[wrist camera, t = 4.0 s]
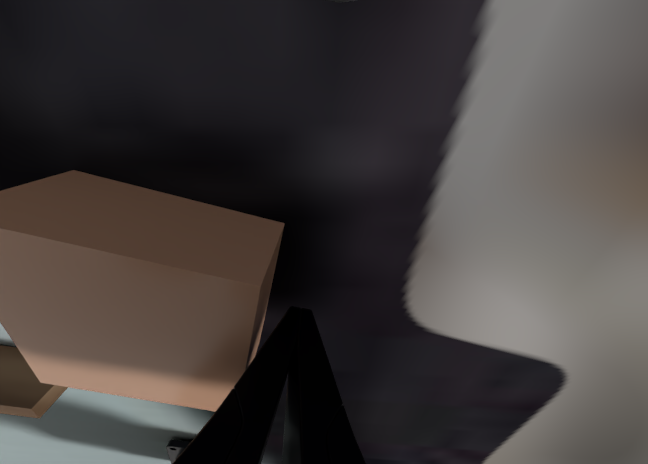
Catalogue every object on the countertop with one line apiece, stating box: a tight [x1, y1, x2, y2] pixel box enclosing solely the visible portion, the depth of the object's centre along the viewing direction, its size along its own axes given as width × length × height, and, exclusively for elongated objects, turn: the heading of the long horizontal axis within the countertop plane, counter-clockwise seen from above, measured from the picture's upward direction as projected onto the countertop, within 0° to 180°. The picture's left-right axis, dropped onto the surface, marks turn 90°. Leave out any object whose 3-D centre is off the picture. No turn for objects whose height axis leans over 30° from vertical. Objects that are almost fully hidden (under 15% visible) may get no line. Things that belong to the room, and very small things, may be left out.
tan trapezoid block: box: [0, 170, 285, 412], centre depth 8 cm, size 7×7×4 cm
